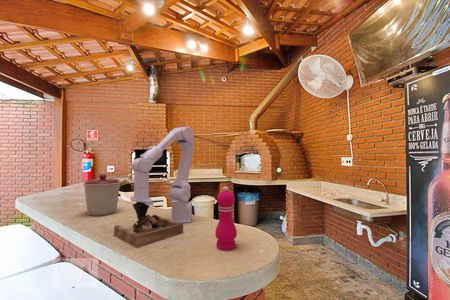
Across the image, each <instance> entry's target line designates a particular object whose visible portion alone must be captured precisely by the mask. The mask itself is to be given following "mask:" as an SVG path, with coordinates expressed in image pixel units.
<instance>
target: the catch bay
mask: <svg viewBox="0 0 450 300" xmlns="http://www.w3.org/2000/svg"><path fill="white" fill-rule="evenodd" d="M157 216H158V217H159V223H158V224H159V227H160V229H158V230H156V229H155V230H151V231H147V232H145V233H144V232H143V233H140V234H139V233H136V232H134V231H132V230H129V229H128V228H125V227H124V226H121V225H119V224H116V225H114V227H113V231H114V232H113V233H114V234H113V235H114V236H115V237H117V238H118V239H120V240H121V241H122V240H123V241H125V242H126V243H128V244H130V245H132V246H133V247H134V248H135V247H136V248H140V247H143V246H147V245H150V244H152V243H153V244H154V243H155V242H159V241H162V240H165V239H168V238H172V237H175V236H177V235H182V234H184V224H183V223H178V222H175V221H172V220H171V219H168V218H165V217H162V216H159V215H157Z"/></svg>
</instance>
